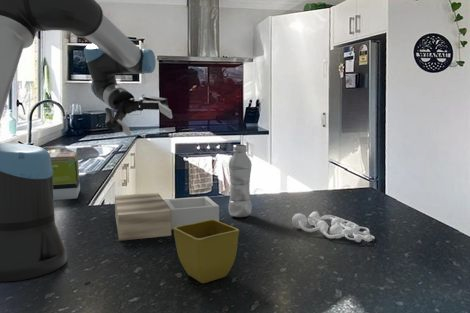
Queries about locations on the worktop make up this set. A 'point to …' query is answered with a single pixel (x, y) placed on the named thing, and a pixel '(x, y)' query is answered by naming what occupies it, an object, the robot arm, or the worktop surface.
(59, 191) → the tea box
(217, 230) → the flower pot
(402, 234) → the worktop surface
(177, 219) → the frame
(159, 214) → the beige rectangular block
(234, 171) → the plastic bottle
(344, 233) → the tangled rod sculpture
